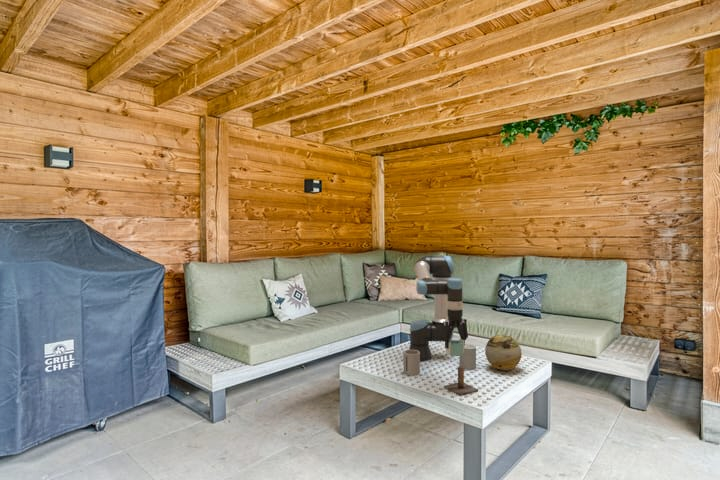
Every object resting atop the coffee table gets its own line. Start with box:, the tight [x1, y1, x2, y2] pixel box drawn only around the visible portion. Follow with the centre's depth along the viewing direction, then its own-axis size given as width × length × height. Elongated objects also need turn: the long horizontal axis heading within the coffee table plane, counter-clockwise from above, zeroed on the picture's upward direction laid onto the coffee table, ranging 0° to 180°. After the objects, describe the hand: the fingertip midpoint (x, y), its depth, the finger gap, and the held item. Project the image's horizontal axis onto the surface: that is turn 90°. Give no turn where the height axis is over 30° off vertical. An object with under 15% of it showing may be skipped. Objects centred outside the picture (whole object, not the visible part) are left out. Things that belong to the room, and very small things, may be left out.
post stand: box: [443, 367, 479, 397], centre depth 210 cm, size 12×12×11 cm
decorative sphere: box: [484, 334, 523, 371], centre depth 239 cm, size 20×20×20 cm
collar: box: [449, 339, 463, 357], centre depth 212 cm, size 8×8×6 cm
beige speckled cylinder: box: [459, 343, 477, 371], centre depth 244 cm, size 10×10×12 cm
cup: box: [403, 349, 421, 377], centre depth 235 cm, size 9×9×12 cm
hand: (455, 353), depth 212 cm, fingers closed on collar, 8 cm apart
